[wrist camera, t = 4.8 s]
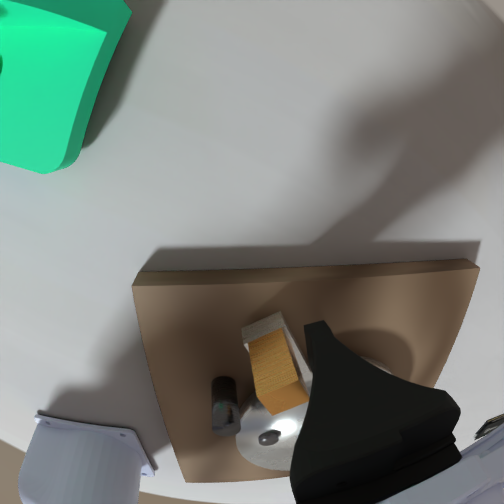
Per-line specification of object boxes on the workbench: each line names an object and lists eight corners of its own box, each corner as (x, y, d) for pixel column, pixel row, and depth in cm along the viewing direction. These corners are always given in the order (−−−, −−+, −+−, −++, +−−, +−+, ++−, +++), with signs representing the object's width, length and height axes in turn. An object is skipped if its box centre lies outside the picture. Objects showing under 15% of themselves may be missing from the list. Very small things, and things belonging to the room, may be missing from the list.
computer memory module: (525, 406, 31) (513, 422, 33) (523, 403, 32) (510, 419, 34) (488, 423, 28) (473, 440, 30) (485, 419, 29) (470, 436, 31)
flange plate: (399, 413, 20) (424, 457, 15) (273, 467, 21) (283, 515, 16) (363, 263, 14) (416, 318, 10) (162, 356, 15) (151, 430, 10)
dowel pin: (211, 392, 16) (213, 436, 13) (210, 376, 16) (211, 421, 13) (236, 391, 16) (241, 435, 14) (235, 375, 16) (240, 420, 13)
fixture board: (185, 469, 22) (185, 482, 21) (138, 271, 15) (131, 286, 13) (390, 440, 24) (395, 451, 23) (466, 258, 17) (480, 267, 15)
